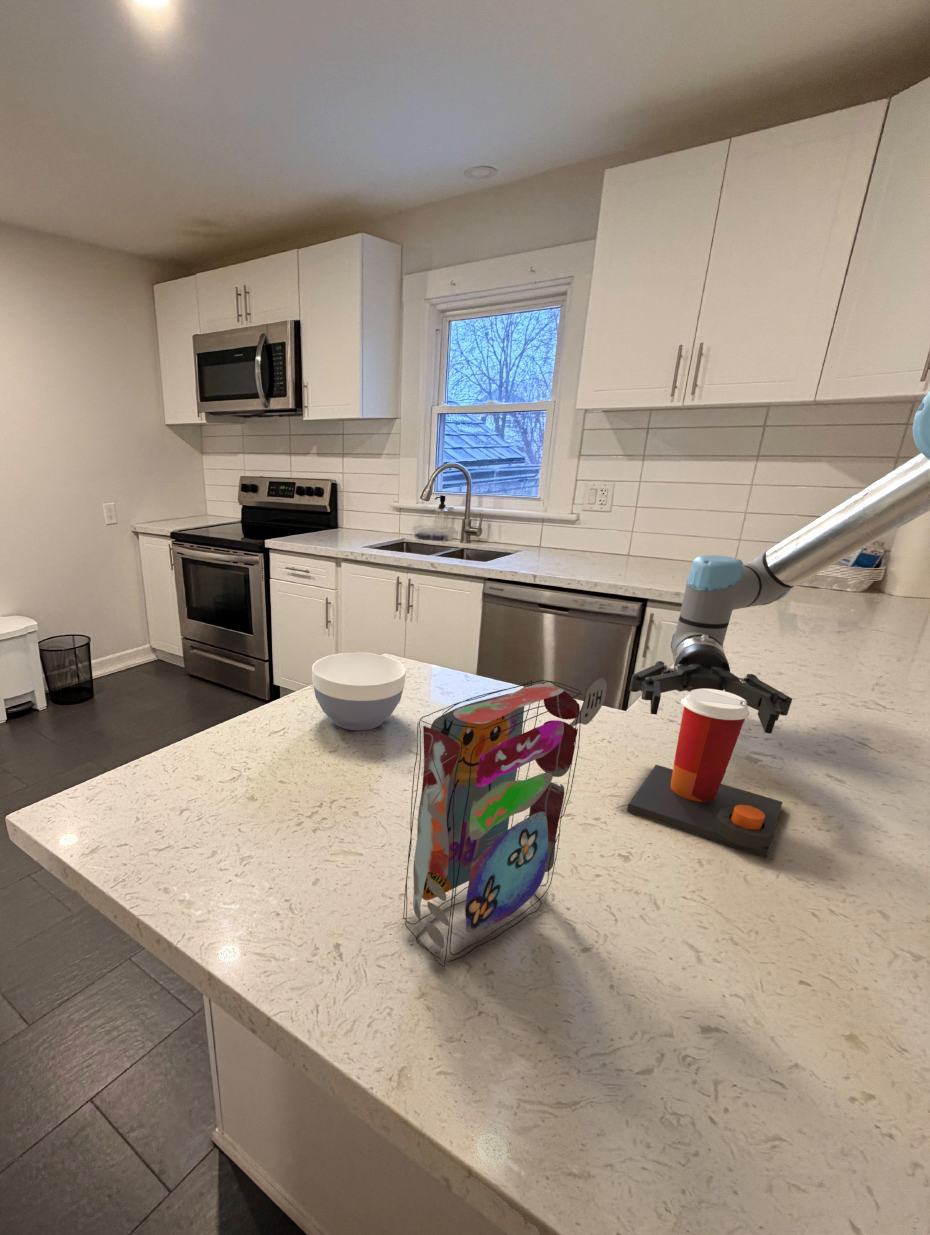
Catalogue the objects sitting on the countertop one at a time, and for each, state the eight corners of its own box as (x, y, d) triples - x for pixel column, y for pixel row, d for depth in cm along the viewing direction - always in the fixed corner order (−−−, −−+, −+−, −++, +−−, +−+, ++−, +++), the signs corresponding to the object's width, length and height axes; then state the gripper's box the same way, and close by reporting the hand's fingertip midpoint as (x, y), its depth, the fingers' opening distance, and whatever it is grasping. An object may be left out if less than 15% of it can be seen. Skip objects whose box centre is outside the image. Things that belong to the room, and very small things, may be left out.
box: (552, 846, 79) (585, 658, 69) (597, 872, 74) (639, 675, 64) (400, 932, 65) (415, 714, 55) (444, 971, 60) (469, 740, 51)
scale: (780, 809, 87) (787, 790, 86) (765, 863, 76) (772, 842, 75) (653, 771, 96) (658, 753, 95) (624, 814, 85) (628, 795, 84)
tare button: (762, 822, 79) (766, 810, 78) (759, 834, 77) (763, 822, 76) (733, 813, 81) (736, 801, 80) (728, 824, 79) (732, 812, 78)
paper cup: (727, 787, 89) (754, 695, 84) (721, 812, 84) (750, 715, 78) (665, 771, 94) (687, 682, 88) (656, 794, 88) (679, 700, 82)
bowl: (293, 716, 112) (292, 665, 109) (358, 694, 122) (359, 646, 118) (355, 749, 101) (357, 693, 98) (422, 721, 111) (425, 669, 108)
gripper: (621, 632, 107) (616, 673, 89) (798, 654, 98) (832, 705, 80) (613, 674, 110) (606, 722, 92) (784, 699, 101) (814, 758, 83)
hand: (711, 714), depth 86 cm, fingers open, 13 cm apart
